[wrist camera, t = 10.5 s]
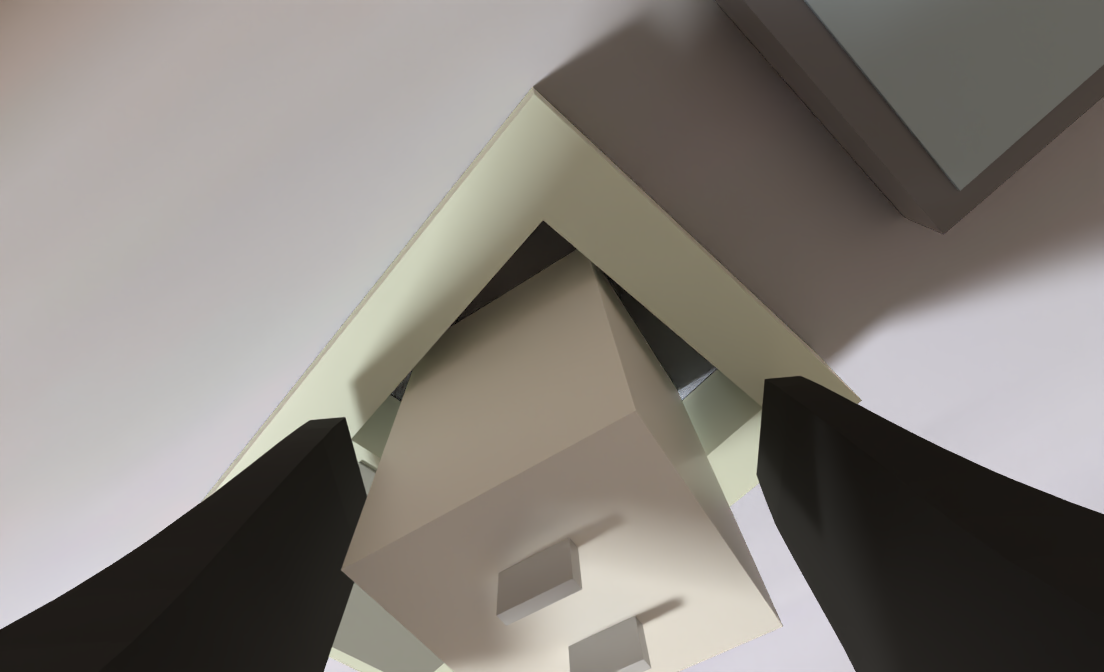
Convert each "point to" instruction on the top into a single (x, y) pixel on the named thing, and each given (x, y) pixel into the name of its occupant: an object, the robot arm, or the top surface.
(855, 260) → the top surface
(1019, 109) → the phone
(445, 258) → the outlet plate
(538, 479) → the charger
